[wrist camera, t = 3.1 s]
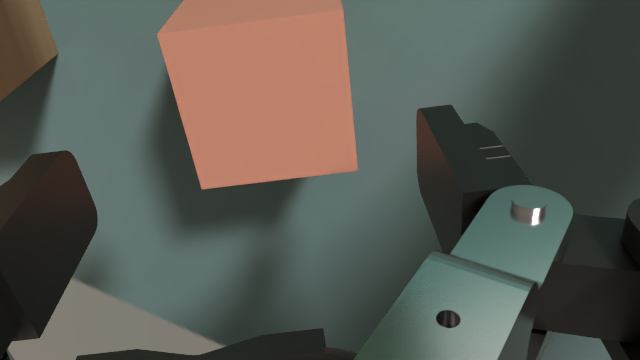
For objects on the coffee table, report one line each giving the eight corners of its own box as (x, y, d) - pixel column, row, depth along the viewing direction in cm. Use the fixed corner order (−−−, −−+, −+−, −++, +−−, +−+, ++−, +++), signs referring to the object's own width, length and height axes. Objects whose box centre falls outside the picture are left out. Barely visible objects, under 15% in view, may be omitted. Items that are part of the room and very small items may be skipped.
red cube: (330, -33, 19) (343, 9, 14) (343, 95, 21) (358, 170, 16) (194, -14, 19) (157, 33, 14) (224, 110, 22) (201, 189, 16)
